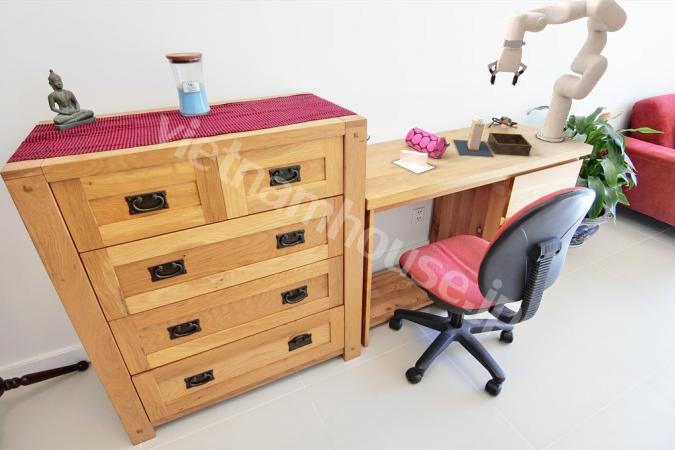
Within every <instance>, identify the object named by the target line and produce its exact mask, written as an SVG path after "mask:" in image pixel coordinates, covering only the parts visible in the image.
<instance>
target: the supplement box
mask: <svg viewBox="0 0 675 450" xmlns="http://www.w3.org/2000/svg"><path fill="white" fill-rule="evenodd" d="M484 129H485V122H484V120H483V118H472V120H471V125H470V129H469V136H468V139H467V141H468V143H467V145H468V148H469V150H477V151H478V150H479V146H480V142H481V141H482V137H483V133H484Z"/></svg>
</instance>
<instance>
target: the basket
mask: <svg viewBox="0 0 675 450" xmlns="http://www.w3.org/2000/svg"><path fill="white" fill-rule="evenodd" d="M486 143H487V145H488V146H489V148H490V149H491V151H492V152H493V153H494V155H503V156H523V157H530V154H531V150H532V147H533V146H532V144H531V143H530V142H529V141H528V140H527V139H526V137H524V136H523V134H521V133H505V132H503V133H502V132H488V136H487V141H486Z"/></svg>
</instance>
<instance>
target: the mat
mask: <svg viewBox="0 0 675 450" xmlns="http://www.w3.org/2000/svg"><path fill="white" fill-rule="evenodd" d="M453 141H454V145H455V146H456V149H457V151H458V153H459V155H460V156H471V157H490V158H493V157H494V155H493V153H492V152H491V150H490V149H489V147H488V146H487V144H486V142H485V141H482V140H481V142H480V146H479V150H478V151H477V150H469V148H468V145H467V143H468V140H466V139H465V140H464V139H462V140H461V139H454V140H453Z"/></svg>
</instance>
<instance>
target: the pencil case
mask: <svg viewBox="0 0 675 450" xmlns="http://www.w3.org/2000/svg"><path fill="white" fill-rule="evenodd" d="M404 142H405V144H406V145H407V146H410V147H411V148H413V149H415V150H417V151H419V152H420V153H427V154H428V156H429V157H433V158H435V159H440V158H441V157H442V156H443V155H444V154H445V153H446V151H447V148H449V147H450V145H451V143H448V142H447V140H446V136H441V135H436V134H433V133H431V132H429V131H425V130H423V129H421V128H419V127H417V126H415V127H413V128H411V129H410V130H409V131H408V132H407V134H406V136H405V139H404Z"/></svg>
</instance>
